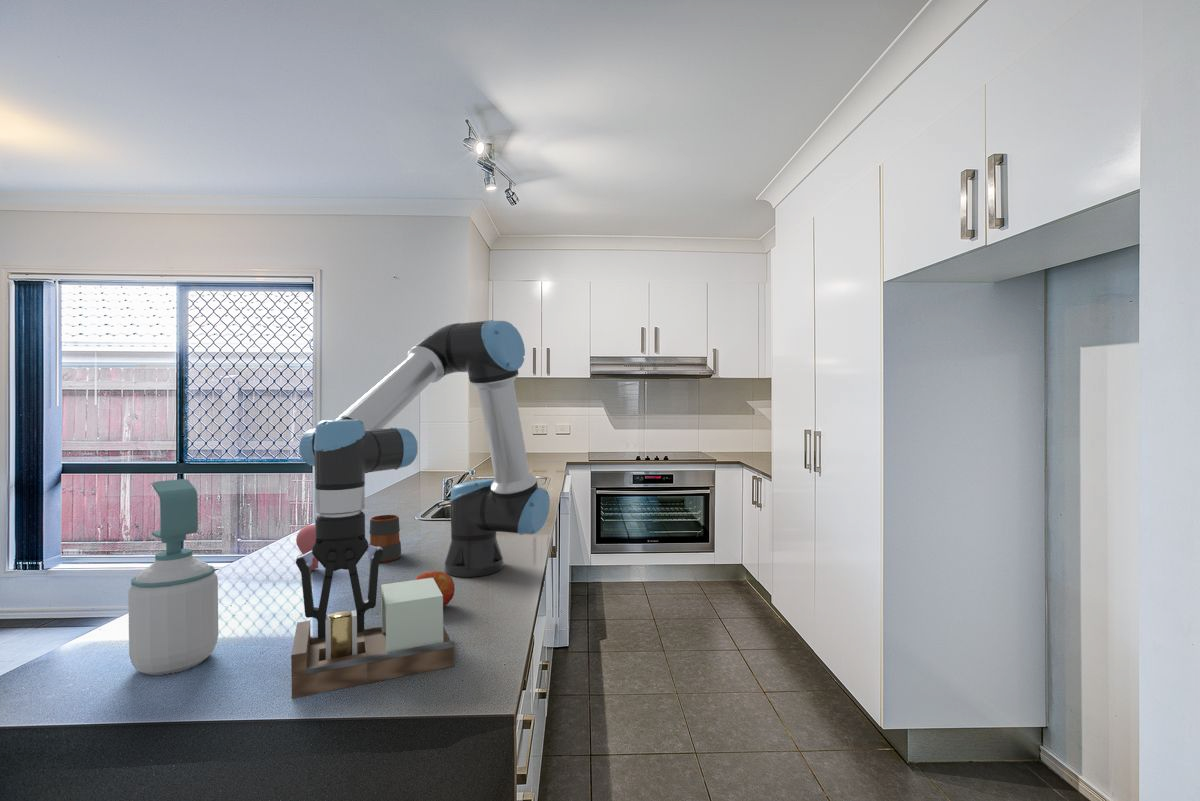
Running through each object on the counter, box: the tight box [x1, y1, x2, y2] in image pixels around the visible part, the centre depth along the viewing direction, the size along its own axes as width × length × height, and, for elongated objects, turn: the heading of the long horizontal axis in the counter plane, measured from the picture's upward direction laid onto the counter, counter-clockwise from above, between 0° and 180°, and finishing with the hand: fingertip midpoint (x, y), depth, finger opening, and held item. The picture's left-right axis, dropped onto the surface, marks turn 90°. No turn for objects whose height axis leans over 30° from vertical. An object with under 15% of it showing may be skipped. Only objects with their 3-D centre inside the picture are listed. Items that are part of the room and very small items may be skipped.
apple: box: [415, 570, 456, 608], centre depth 123 cm, size 8×8×8 cm
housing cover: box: [380, 578, 444, 653], centre depth 100 cm, size 9×11×8 cm
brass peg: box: [329, 610, 352, 659], centre depth 95 cm, size 4×4×8 cm
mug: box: [368, 514, 402, 563], centre depth 164 cm, size 9×12×12 cm
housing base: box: [290, 620, 455, 699], centre depth 97 cm, size 24×14×6 cm, turn 115°
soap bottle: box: [127, 478, 219, 676], centre depth 98 cm, size 12×12×31 cm
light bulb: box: [295, 524, 320, 572], centre depth 151 cm, size 7×7×12 cm
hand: (341, 653), depth 95 cm, fingers closed on brass peg, 3 cm apart
